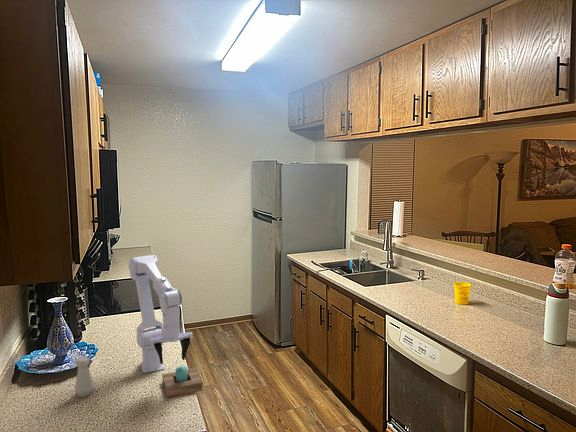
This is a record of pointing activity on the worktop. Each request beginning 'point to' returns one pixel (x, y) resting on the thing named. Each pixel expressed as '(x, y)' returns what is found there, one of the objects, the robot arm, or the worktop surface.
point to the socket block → (182, 383)
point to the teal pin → (181, 374)
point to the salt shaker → (83, 378)
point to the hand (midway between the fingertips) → (172, 360)
